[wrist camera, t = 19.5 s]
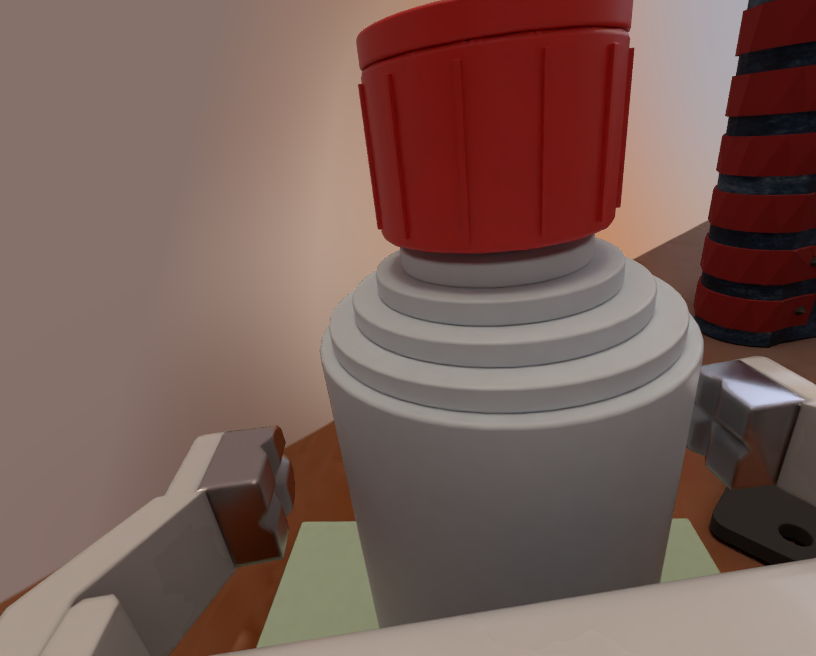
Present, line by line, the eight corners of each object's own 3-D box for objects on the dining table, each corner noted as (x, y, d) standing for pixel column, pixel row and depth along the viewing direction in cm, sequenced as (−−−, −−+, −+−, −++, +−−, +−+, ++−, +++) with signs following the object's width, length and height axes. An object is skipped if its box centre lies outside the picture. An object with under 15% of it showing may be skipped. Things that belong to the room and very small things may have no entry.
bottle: (385, 842, 11) (150, 71, 4) (407, 586, 16) (327, 100, 10) (671, 863, 10) (979, -48, 3) (588, 587, 16) (636, 60, 9)
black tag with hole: (912, 445, 20) (888, 604, 14) (906, 457, 20) (880, 618, 14) (772, 405, 23) (708, 519, 18) (769, 416, 24) (705, 531, 18)
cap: (365, 265, 6) (326, 13, 5) (394, 213, 9) (376, 58, 8) (658, 240, 5) (694, -43, 4) (578, 195, 9) (587, 28, 8)
